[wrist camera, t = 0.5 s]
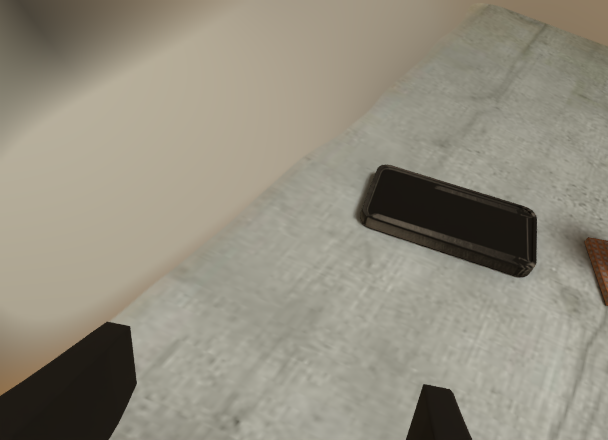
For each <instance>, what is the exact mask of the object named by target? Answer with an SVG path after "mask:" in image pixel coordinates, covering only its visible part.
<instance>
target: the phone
mask: <svg viewBox="0 0 608 440" xmlns="http://www.w3.org/2000/svg"><path fill="white" fill-rule="evenodd" d="M360 219H361V221H362V223H363V224H364V225H366V226H367V227H370V228H373V229H376V230H379V231H382V232H385V233H388V234H391V235H394V236H397V237H400V238H403V239H406V240H409V241H412V242H415V243H418V244H421V245H424V246H427V247H430V248H433V249H436V250H439V251H442V252H445V253H448V254H451V255H454V256H457V257H460V258H463V259H466V260H469V261H472V262H475V263H478V264H481V265H484V266H487V267H490V268H493V269H496V270H499V271H502V272H506V273H509V274H512V275H515V276H519V277H525V276H527V275H528V274H529V273H530V272H531V271H532V269H533V268H534V267H535V265H536V249H537V217H536V215H535V213H534V212H533V211H532V210H531V209H529V208H527V207H525V206H522V205H518V204H515V203H512V202H509V201H505V200H502V199H499V198H495V197H492V196H489V195H486V194H482V193H479V192H476V191H473V190H470V189H466V188H463V187H460V186H457V185H453V184H450V183H447V182H444V181H440V180H437V179H434V178H431V177H427V176H424V175H421V174H418V173H414V172H411V171H408V170H405V169H401V168H398V167H395V166H392V165H381V166H379V167H378V169H377V171H376V174H375V176H374V179H373V181H372V184H371V187H370V189H369V192H368V194H367V197H366V200H365V202H364V205H363V208H362V211H361V215H360Z"/></svg>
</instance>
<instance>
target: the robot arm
mask: <svg viewBox="0 0 608 440" xmlns="http://www.w3.org/2000/svg"><path fill="white" fill-rule="evenodd" d="M136 384H137V381H136V372H135V364H134V355H133V347H132V338H131V330H130V326H126V325H121V324H116V323H111V322H106V323H104V324H103V325H102V326H100V327H99V328H97V329H96V330H94V331H93V332H92V333H90V334H89V335H87V336H86V337H85V338H83V339H82V340H81V341H79V342H78V343H76V344H75V345H74V346H72V347H71V348H69V349H68V350H67V351H65V352H64V353H62V354H61V355H60V356H58V357H57V358H55V359H54V360H53V361H51V362H50V363H48V364H47V365H45V366H44V367H43V368H41V369H40V370H38V371H37V372H35V373H34V374H32V375H31V376H30V377H28V378H27V379H25V380H24V381H22V382H21V383H19V384H18V385H16V386H15V387H13V388H12V389H10V390H9V391H7V392H6V393H4V394H3V395H1V396H0V440H109V438H110V437H111V435H112V433H113V432H114V430H115V428H116V427H117V425H118V423H119V421H120V419H121V417H122V415H123V413H124V411H125V409H126V407H127V405H128V402H129V400H130V398H131V396H132V393H133V391H134V389H135V387H136ZM406 440H472V438H471V436H470V433H469V431H468V429H467V426H466V424H465V422H464V419H463V417H462V414H461V412H460V409H459V407H458V404H457V402H456V399H455V396H454V394H453V392H452V391H451V390H450V389H446V388H441V387H436V386H431V385H426V384H423V387H422V390H421V394H420V397H419V400H418V403H417V406H416V409H415V413H414V416H413V419H412V422H411V425H410V428H409V431H408V435H407V438H406Z"/></svg>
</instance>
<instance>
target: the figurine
mask: <svg viewBox="0 0 608 440" xmlns="http://www.w3.org/2000/svg"><path fill="white" fill-rule="evenodd" d="M585 245H586V248H587V251H588V254H589V256H590V259H591V262H592V265H593V268H594V271H595V274H596V277H597V280H598V283H599V286H600V289H601V291H602V294H603V297H604V300H605V303H606V306H608V241H606V240H600V239H595V238H589V237H588V238H587V239H586V241H585Z"/></svg>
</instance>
